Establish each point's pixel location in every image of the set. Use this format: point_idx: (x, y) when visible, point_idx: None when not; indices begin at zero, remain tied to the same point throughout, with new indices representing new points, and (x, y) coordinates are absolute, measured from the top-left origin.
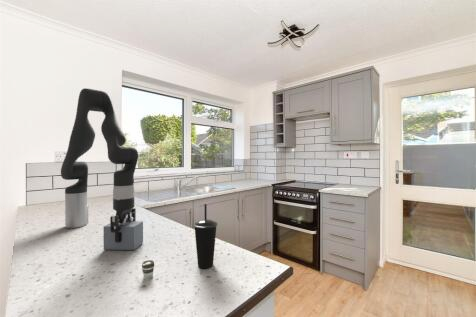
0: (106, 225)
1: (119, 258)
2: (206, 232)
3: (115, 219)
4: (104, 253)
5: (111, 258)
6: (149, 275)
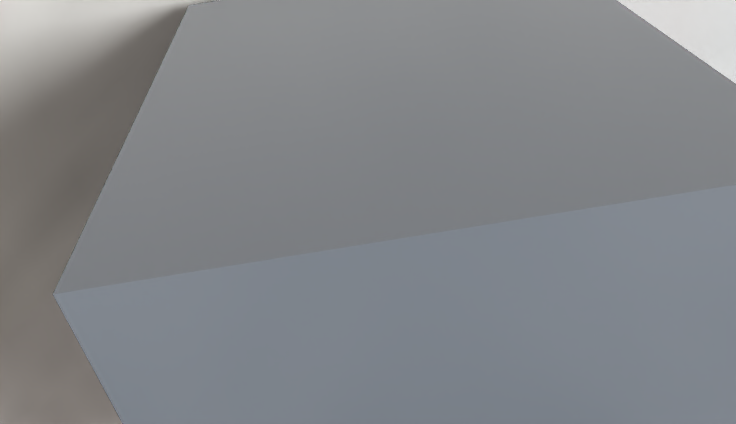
0: (203, 300)
1: (75, 372)
2: None
3: None
4: (107, 105)
5: (31, 300)
6: None
